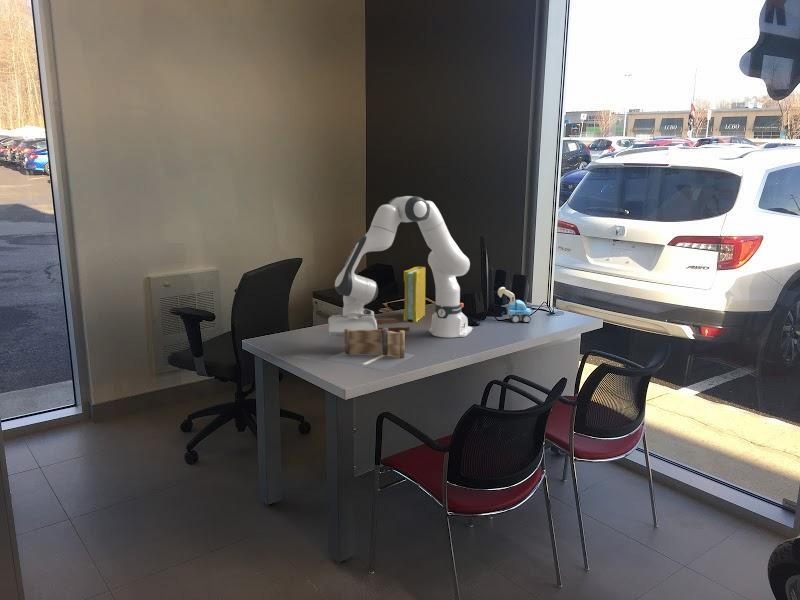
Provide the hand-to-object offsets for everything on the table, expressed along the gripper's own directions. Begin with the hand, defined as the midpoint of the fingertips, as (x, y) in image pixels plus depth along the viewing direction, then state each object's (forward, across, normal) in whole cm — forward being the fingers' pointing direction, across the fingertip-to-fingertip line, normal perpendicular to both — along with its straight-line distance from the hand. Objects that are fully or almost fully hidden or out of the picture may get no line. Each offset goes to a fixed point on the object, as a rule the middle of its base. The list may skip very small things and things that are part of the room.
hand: (352, 344), depth 269 cm
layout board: (+6, +7, +1) cm, 10 cm away
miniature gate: (-26, +8, +34) cm, 44 cm away
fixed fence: (+5, +16, +1) cm, 17 cm away
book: (-42, +30, +50) cm, 72 cm away
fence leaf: (+3, +4, +2) cm, 6 cm away
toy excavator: (-37, +79, +43) cm, 97 cm away
